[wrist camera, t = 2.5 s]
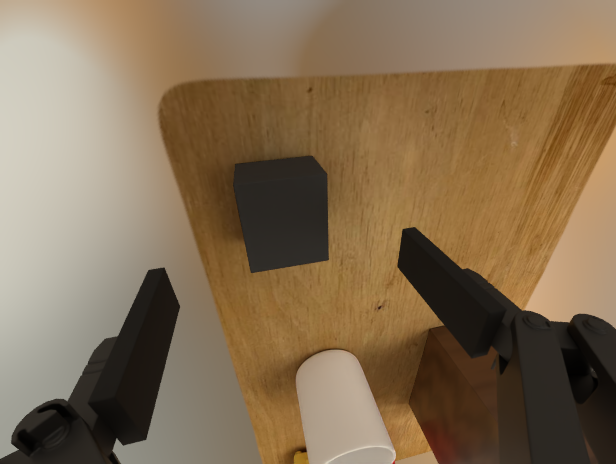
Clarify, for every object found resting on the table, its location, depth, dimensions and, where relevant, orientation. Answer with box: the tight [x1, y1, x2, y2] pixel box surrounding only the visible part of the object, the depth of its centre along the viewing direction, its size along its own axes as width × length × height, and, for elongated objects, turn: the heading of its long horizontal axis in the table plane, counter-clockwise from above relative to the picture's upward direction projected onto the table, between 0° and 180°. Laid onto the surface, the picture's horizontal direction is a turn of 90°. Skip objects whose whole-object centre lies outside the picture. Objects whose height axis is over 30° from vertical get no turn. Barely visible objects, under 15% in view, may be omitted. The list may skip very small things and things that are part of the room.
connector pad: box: [233, 156, 329, 273], centre depth 21 cm, size 7×6×4 cm
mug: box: [296, 349, 396, 464], centre depth 32 cm, size 9×12×11 cm
